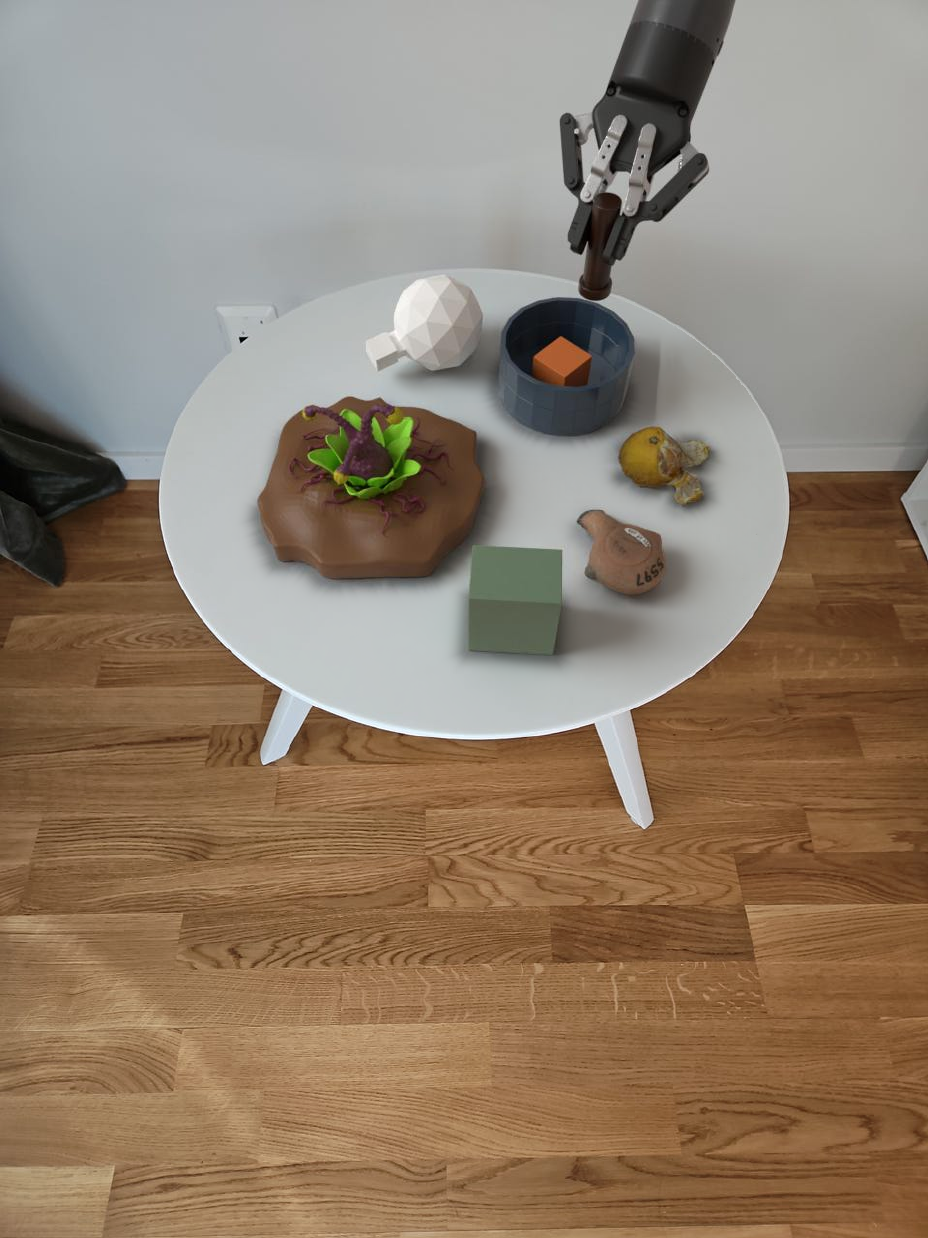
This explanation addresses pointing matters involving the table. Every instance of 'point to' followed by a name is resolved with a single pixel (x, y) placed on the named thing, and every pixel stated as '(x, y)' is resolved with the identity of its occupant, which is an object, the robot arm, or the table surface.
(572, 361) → the block
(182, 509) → the table surface
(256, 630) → the table surface
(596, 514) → the oil lamp
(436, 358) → the perfume bottle
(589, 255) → the brown cylindrical peg
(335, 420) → the plant
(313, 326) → the table surface
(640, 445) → the fruit
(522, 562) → the stand
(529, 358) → the bowl
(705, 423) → the table surface
